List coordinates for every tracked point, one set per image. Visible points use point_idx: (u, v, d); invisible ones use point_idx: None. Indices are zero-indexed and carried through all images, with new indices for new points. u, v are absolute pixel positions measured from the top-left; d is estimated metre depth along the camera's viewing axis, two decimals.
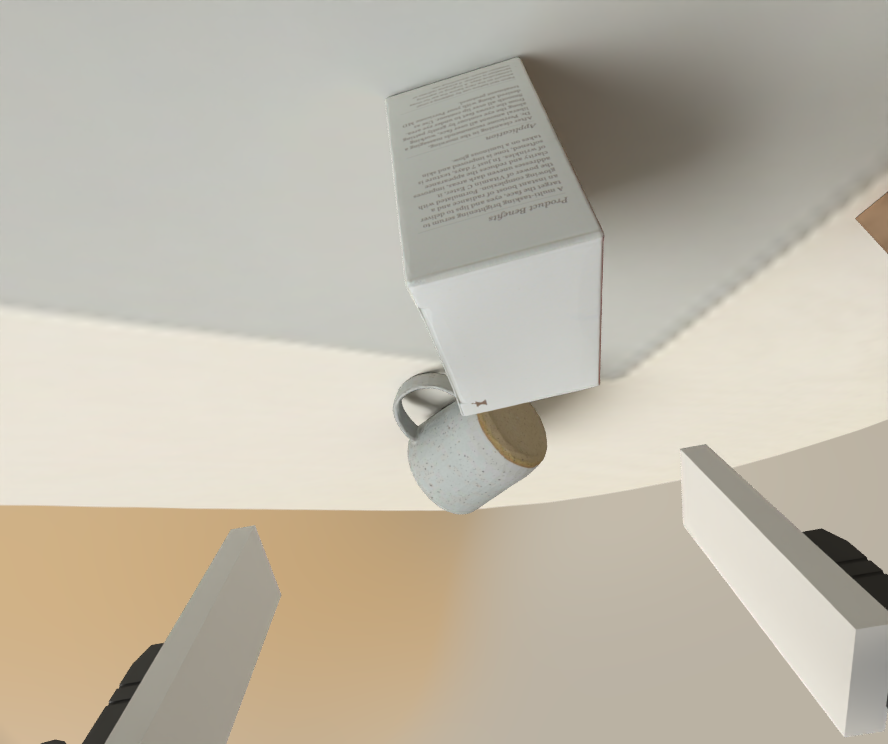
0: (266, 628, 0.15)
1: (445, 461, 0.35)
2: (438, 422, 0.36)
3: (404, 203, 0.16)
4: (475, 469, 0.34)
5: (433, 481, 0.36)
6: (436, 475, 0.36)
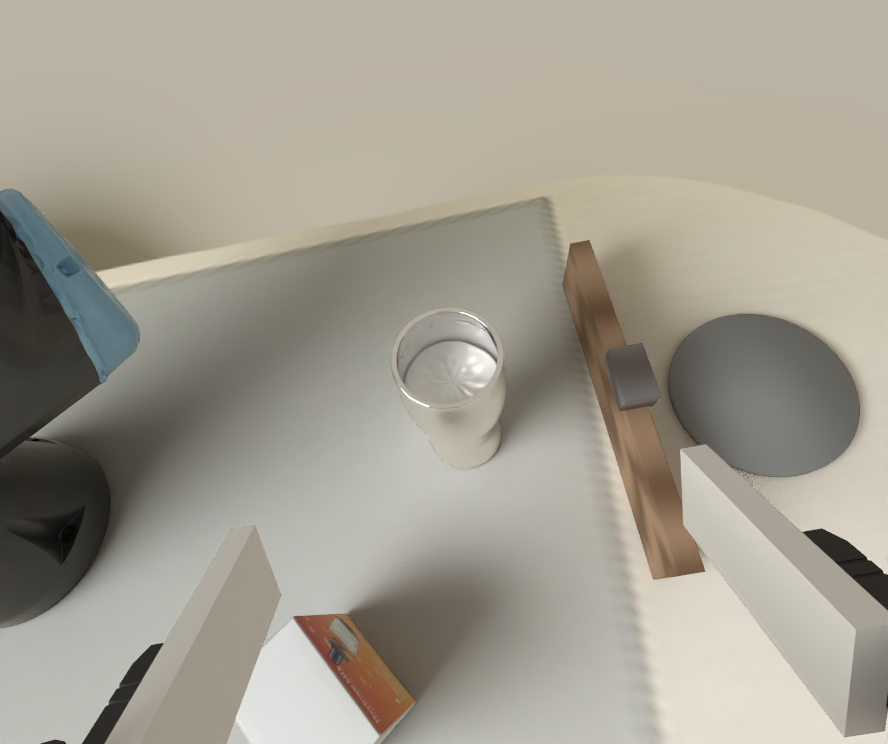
0: (266, 628, 0.15)
1: None
2: None
3: None
4: None
5: None
6: None
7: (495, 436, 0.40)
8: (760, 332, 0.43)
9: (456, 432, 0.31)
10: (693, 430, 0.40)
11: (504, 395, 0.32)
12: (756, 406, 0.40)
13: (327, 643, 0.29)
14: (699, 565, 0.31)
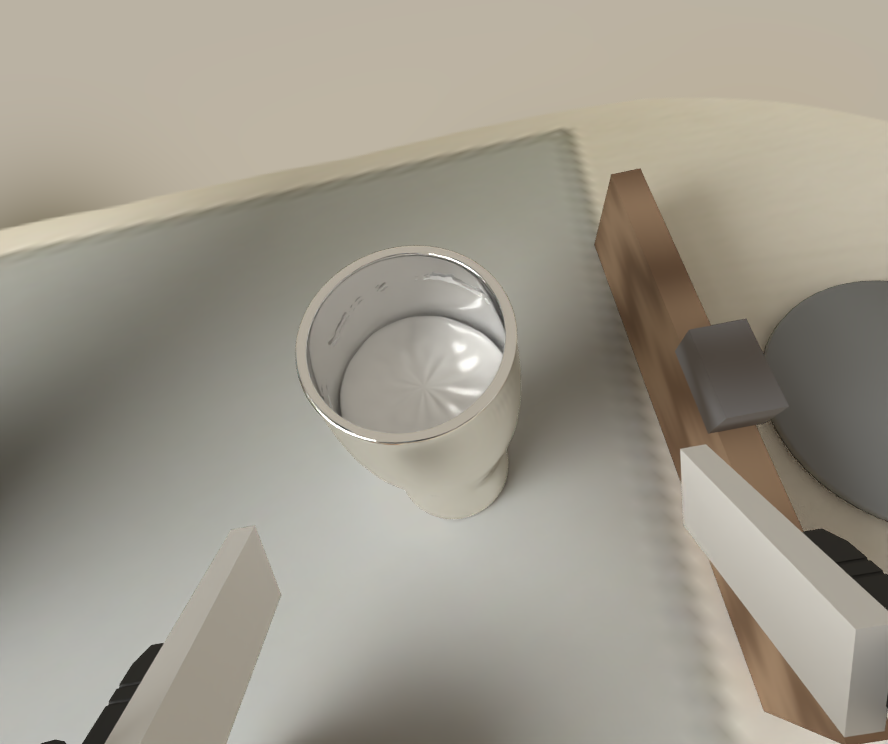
0: (266, 628, 0.15)
1: None
2: None
3: None
4: None
5: None
6: None
7: (500, 470, 0.26)
8: None
9: (428, 481, 0.17)
10: (810, 458, 0.26)
11: (517, 411, 0.17)
12: None
13: None
14: None
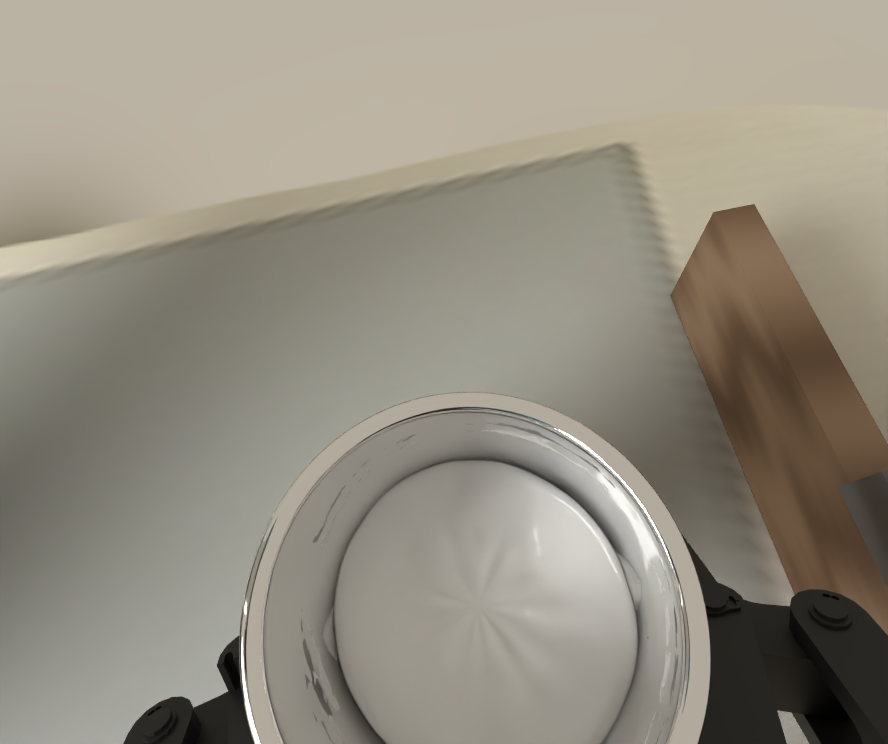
0: None
1: None
2: None
3: None
4: None
5: None
6: None
7: None
8: None
9: None
10: None
11: None
12: None
13: None
14: None
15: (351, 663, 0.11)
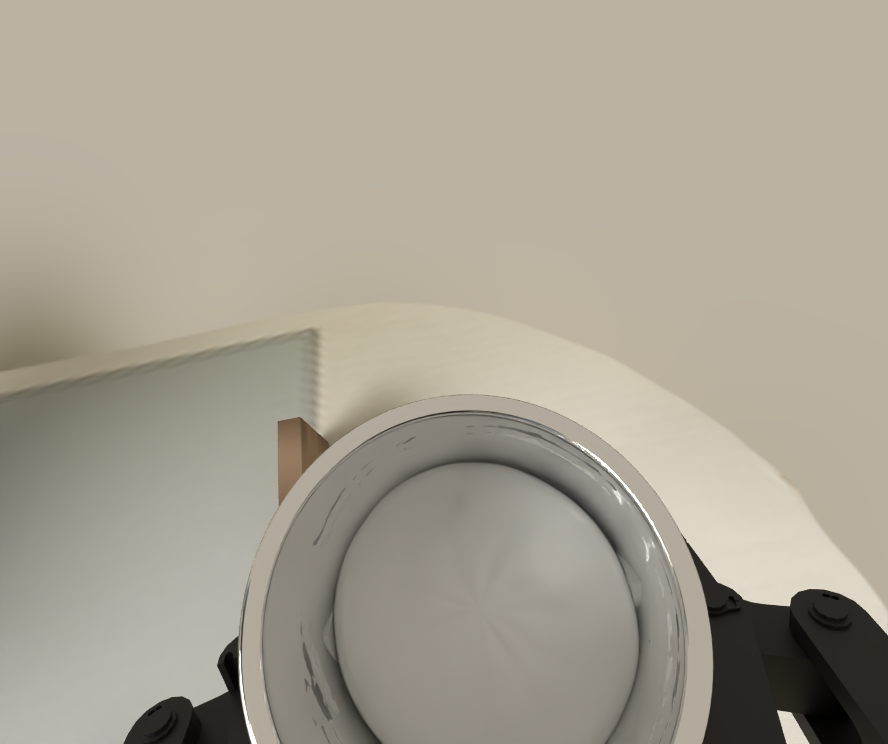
0: None
1: None
2: None
3: None
4: None
5: None
6: None
7: None
8: None
9: None
10: None
11: None
12: None
13: None
14: None
15: (351, 666, 0.11)
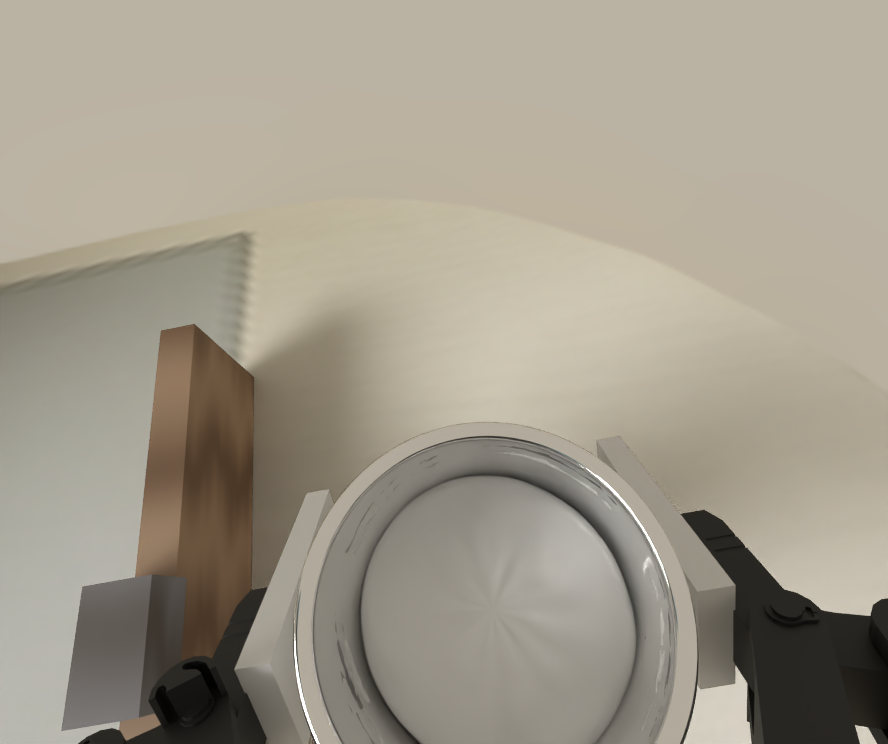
0: None
1: None
2: None
3: None
4: None
5: None
6: None
7: None
8: None
9: None
10: None
11: None
12: None
13: None
14: None
15: (378, 661, 0.12)
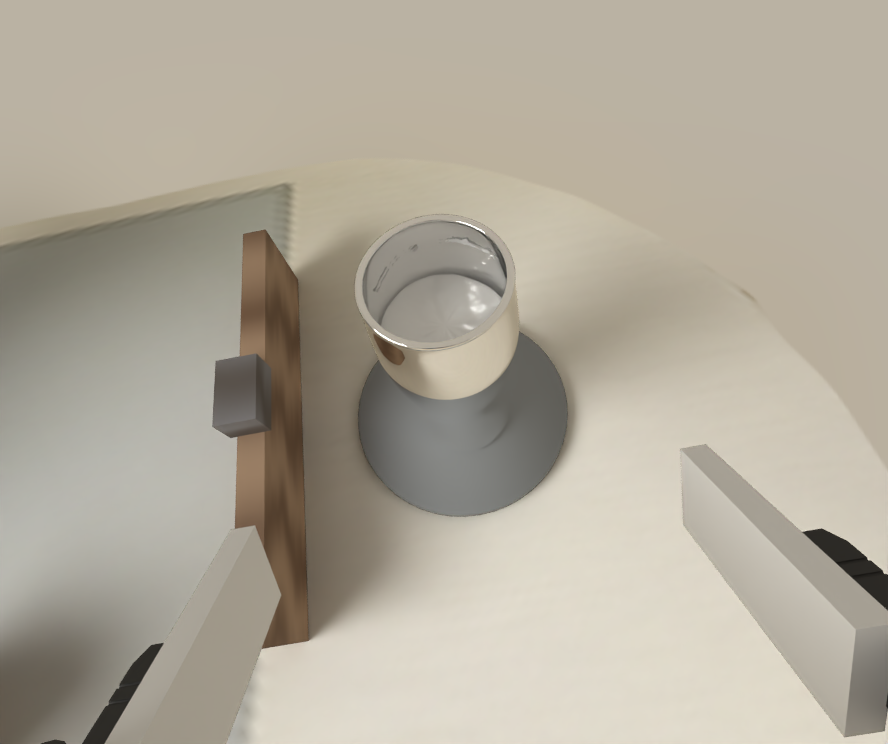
0: (266, 628, 0.15)
1: None
2: None
3: None
4: None
5: None
6: None
7: (502, 409, 0.31)
8: None
9: (448, 391, 0.22)
10: (370, 457, 0.33)
11: (515, 341, 0.23)
12: None
13: None
14: None
15: None
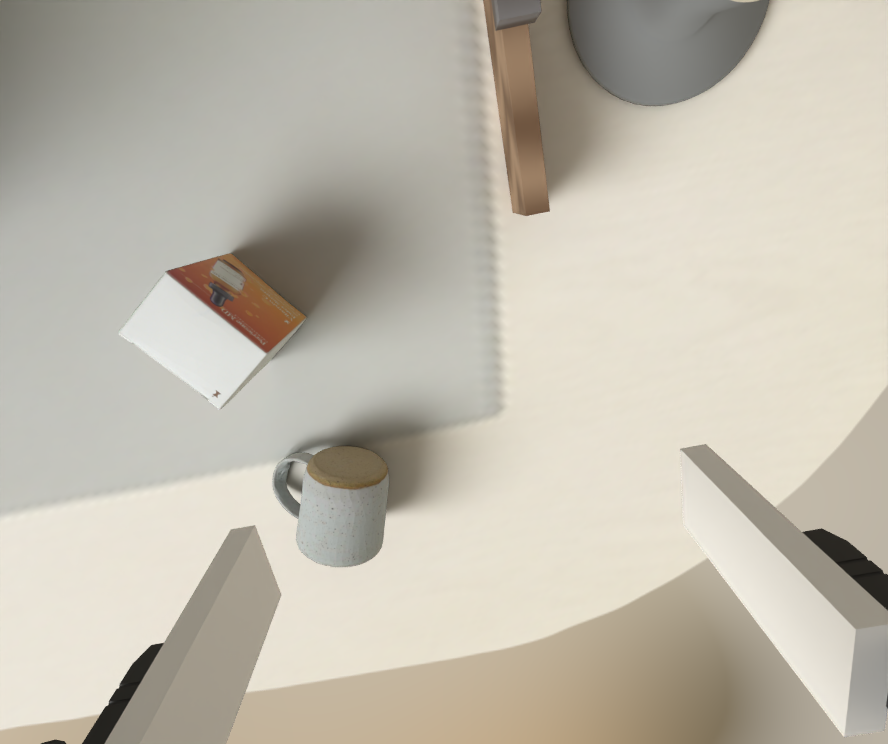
0: (266, 628, 0.15)
1: (302, 514, 0.43)
2: None
3: None
4: (313, 507, 0.41)
5: (302, 537, 0.43)
6: (301, 530, 0.43)
7: None
8: None
9: None
10: (582, 48, 0.36)
11: None
12: None
13: (207, 288, 0.33)
14: (545, 206, 0.34)
15: None
